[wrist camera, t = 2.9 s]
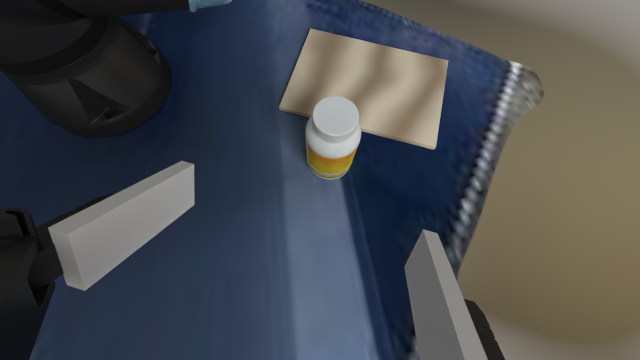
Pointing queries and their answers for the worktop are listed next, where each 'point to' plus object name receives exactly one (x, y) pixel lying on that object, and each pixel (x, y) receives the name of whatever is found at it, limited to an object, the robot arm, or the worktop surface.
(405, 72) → the birch board
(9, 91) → the worktop surface
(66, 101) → the robot arm
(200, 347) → the worktop surface
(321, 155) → the supplement bottle
